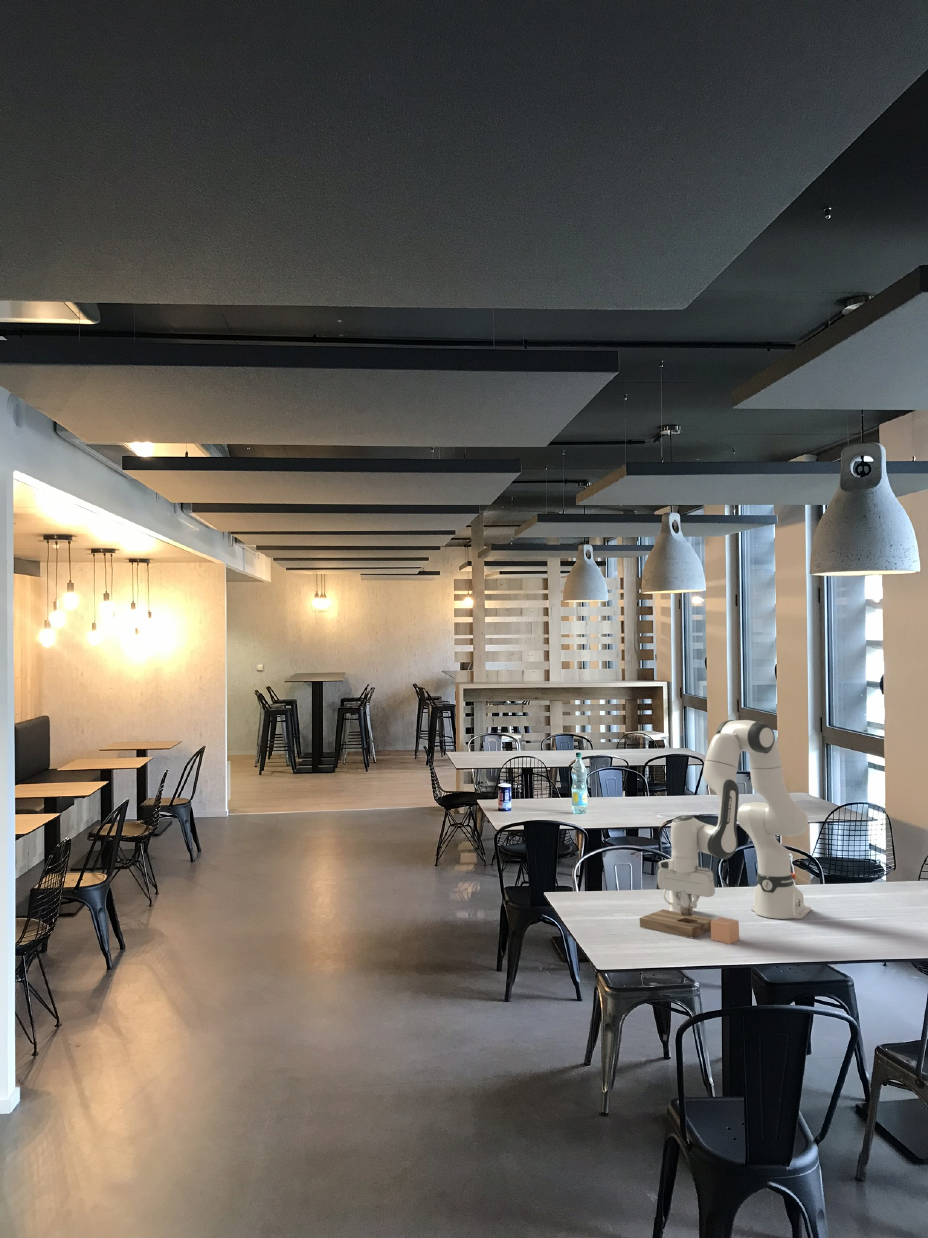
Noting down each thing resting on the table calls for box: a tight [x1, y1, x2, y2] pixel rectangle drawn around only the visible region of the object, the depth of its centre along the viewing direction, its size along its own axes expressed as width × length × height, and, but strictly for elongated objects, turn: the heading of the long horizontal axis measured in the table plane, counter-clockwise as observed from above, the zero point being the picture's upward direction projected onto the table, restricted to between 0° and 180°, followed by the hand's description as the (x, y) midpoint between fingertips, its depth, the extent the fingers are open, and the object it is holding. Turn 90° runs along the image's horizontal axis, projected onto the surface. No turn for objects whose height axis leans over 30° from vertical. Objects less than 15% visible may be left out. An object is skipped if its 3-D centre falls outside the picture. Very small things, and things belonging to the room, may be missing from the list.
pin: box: [680, 891, 694, 916], centre depth 288 cm, size 4×4×8 cm
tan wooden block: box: [710, 916, 740, 945], centre depth 275 cm, size 6×6×6 cm
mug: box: [663, 889, 681, 913], centre depth 311 cm, size 12×8×12 cm
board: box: [639, 908, 715, 938], centre depth 290 cm, size 15×20×3 cm
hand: (686, 906), depth 288 cm, fingers closed on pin, 4 cm apart
